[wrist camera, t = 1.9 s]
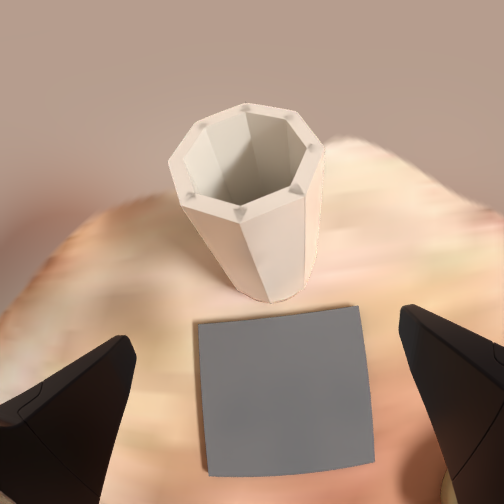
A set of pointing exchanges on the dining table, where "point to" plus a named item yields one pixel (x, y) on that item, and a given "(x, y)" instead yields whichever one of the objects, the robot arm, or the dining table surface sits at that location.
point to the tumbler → (254, 196)
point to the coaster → (286, 394)
